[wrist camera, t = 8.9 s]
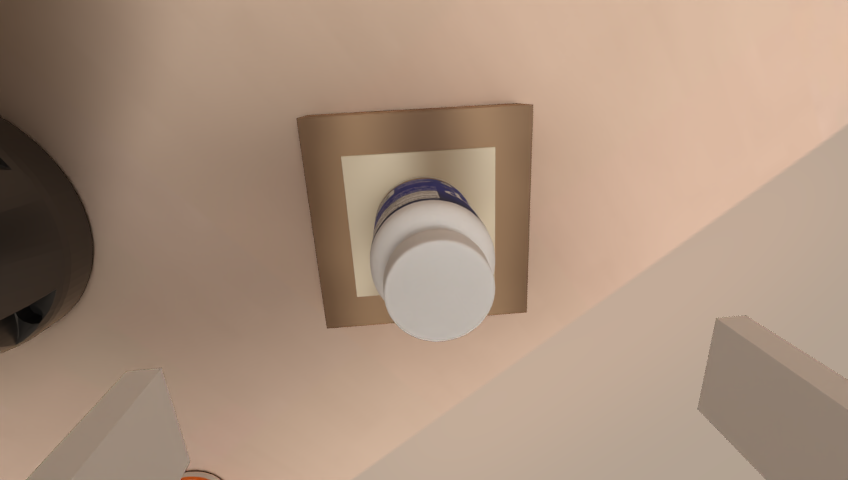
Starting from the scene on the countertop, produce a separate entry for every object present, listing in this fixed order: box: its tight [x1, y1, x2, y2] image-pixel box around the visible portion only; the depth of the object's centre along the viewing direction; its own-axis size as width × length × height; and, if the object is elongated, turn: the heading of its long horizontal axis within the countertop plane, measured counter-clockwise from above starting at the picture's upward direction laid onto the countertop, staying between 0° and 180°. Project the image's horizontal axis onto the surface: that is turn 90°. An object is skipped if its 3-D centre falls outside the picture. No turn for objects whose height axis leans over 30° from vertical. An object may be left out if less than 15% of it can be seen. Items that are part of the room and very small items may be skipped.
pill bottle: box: [370, 177, 495, 342], centre depth 19 cm, size 5×5×9 cm
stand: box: [297, 103, 533, 328], centre depth 25 cm, size 12×12×3 cm
